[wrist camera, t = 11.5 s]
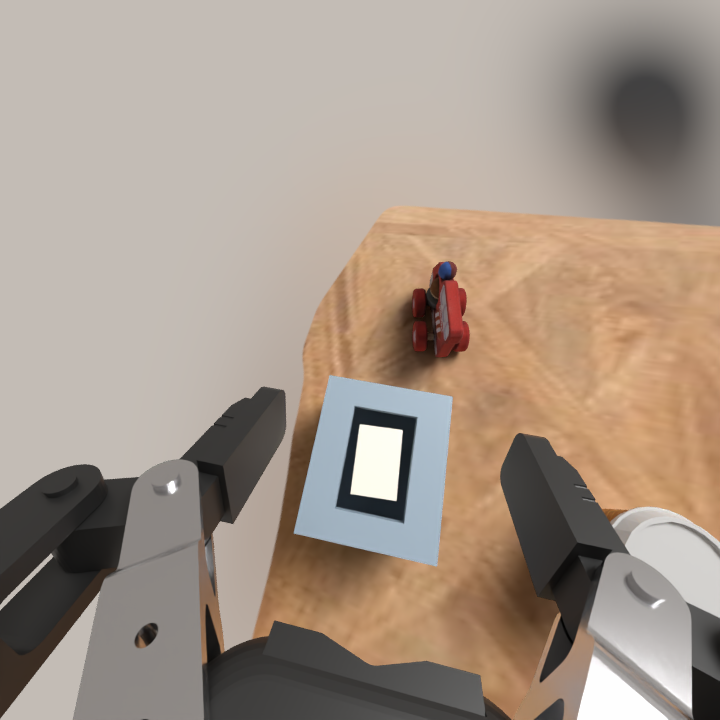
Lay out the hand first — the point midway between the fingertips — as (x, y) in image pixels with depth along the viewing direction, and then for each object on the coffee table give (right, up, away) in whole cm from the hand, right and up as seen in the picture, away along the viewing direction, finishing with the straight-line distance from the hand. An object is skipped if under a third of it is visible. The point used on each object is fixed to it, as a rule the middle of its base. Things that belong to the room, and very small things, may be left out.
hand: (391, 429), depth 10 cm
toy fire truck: (+10, +8, +32) cm, 34 cm away
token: (+1, -10, +25) cm, 27 cm away
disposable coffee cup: (+23, -18, +23) cm, 37 cm away
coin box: (+1, -10, +26) cm, 28 cm away
